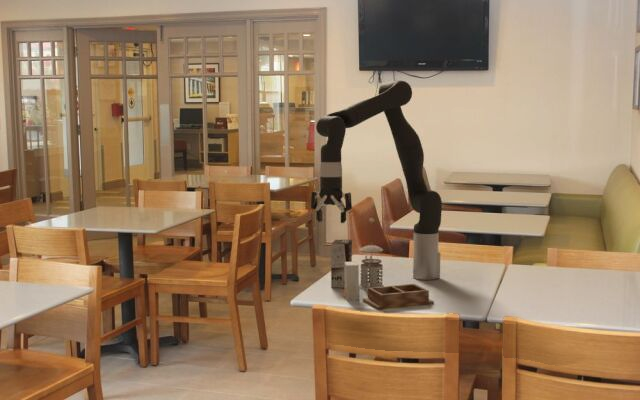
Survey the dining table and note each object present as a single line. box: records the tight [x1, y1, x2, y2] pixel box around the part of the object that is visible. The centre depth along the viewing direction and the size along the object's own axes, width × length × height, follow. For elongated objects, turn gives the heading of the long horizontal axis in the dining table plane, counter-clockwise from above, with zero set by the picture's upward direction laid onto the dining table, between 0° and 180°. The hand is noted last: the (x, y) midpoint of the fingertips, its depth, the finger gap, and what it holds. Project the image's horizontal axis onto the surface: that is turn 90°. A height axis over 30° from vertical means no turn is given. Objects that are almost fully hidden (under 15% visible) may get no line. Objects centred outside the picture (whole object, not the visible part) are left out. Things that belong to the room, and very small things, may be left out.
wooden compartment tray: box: [362, 283, 435, 311], centre depth 251 cm, size 20×12×4 cm, turn 110°
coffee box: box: [330, 239, 353, 289], centre depth 275 cm, size 9×6×16 cm
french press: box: [359, 217, 384, 292], centre depth 270 cm, size 10×12×25 cm
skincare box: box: [344, 261, 360, 301], centre depth 256 cm, size 6×4×12 cm
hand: (331, 222), depth 262 cm, fingers open, 8 cm apart
